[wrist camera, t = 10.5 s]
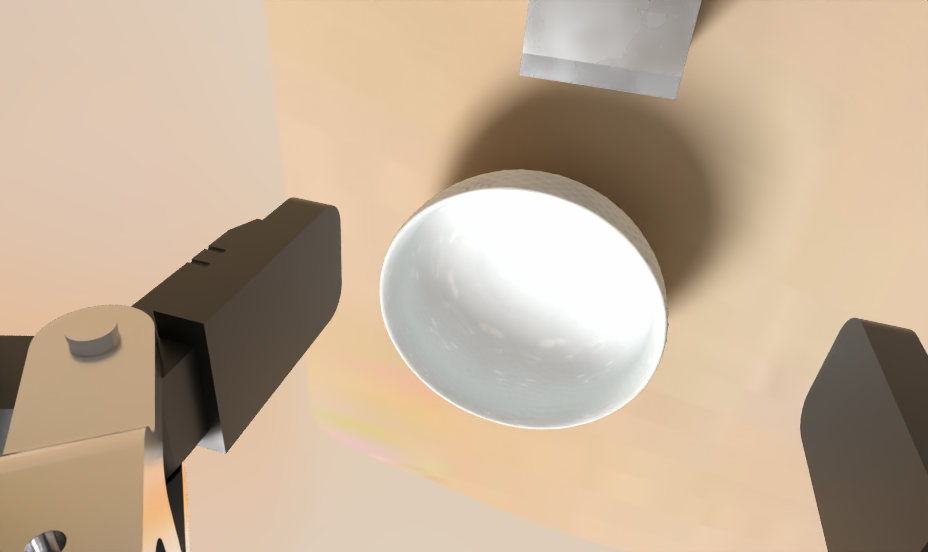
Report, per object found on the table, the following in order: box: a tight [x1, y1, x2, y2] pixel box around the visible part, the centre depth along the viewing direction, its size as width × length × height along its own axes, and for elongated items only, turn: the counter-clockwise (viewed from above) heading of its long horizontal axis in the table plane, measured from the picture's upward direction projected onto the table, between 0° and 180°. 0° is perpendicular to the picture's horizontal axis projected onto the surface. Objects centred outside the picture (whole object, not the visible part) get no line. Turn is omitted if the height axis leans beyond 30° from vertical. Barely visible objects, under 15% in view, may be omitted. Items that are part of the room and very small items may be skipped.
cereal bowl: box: [380, 169, 669, 429], centre depth 40 cm, size 17×17×7 cm
